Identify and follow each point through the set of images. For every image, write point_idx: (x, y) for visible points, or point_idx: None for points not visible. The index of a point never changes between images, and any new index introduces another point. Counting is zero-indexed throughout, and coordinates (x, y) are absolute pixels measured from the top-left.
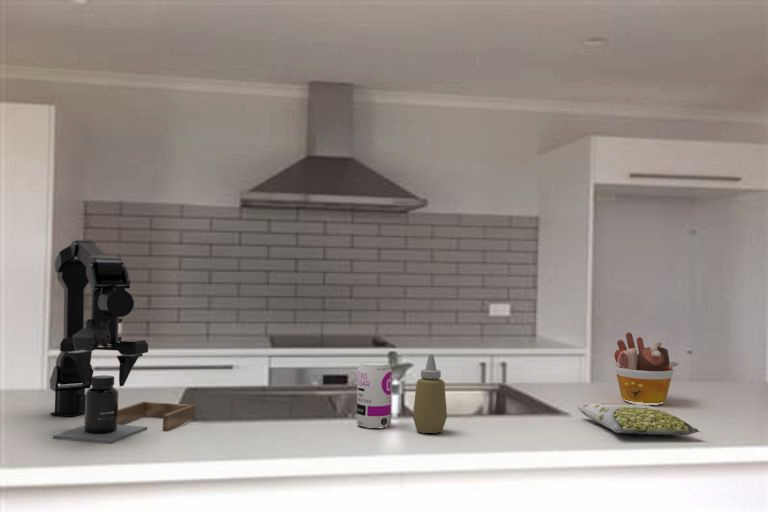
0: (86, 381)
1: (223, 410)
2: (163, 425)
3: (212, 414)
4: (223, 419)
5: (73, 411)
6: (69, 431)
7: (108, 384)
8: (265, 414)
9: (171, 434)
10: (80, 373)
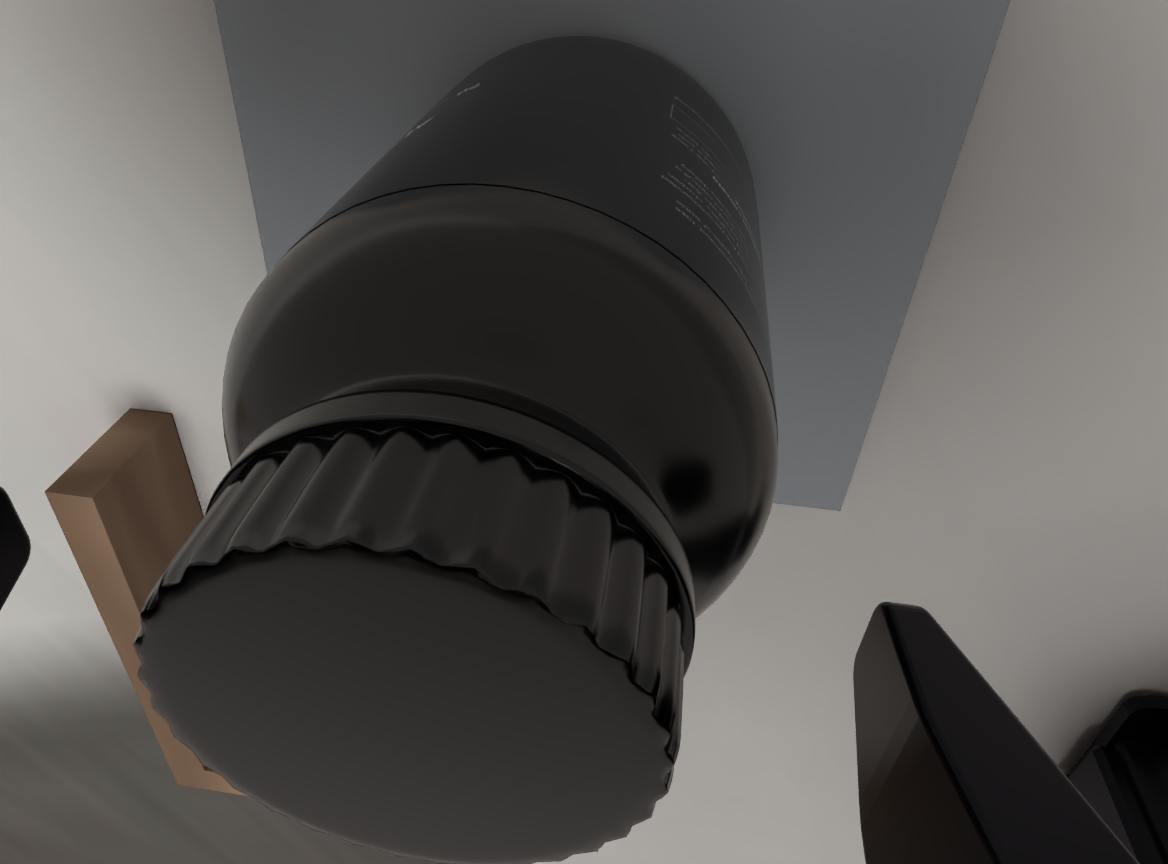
0: (865, 685)
1: (259, 857)
2: (140, 438)
3: (243, 795)
4: (93, 713)
5: (1151, 754)
6: (926, 107)
7: (213, 503)
8: (6, 805)
9: (12, 315)
10: (1061, 827)
